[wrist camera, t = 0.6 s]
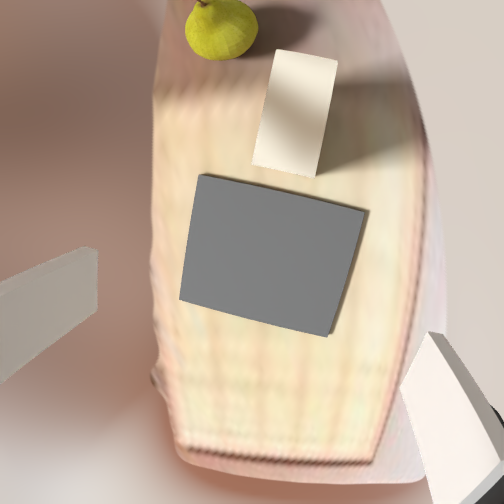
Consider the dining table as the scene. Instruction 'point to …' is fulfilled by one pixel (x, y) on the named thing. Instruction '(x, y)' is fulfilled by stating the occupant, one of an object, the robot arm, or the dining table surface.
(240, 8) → the fruit
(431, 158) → the dining table surface
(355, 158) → the dining table surface
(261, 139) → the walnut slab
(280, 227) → the felt pad
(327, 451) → the dining table surface
